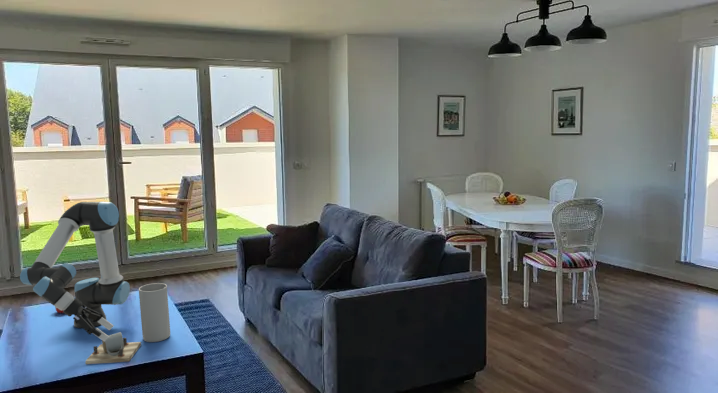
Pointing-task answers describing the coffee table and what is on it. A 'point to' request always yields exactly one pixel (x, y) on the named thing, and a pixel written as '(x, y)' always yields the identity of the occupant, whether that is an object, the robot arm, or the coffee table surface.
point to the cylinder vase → (154, 312)
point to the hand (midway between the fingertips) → (109, 333)
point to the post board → (123, 355)
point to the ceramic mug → (113, 344)
